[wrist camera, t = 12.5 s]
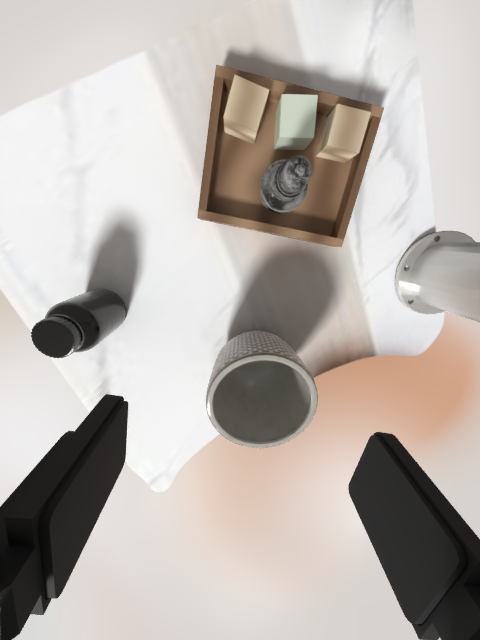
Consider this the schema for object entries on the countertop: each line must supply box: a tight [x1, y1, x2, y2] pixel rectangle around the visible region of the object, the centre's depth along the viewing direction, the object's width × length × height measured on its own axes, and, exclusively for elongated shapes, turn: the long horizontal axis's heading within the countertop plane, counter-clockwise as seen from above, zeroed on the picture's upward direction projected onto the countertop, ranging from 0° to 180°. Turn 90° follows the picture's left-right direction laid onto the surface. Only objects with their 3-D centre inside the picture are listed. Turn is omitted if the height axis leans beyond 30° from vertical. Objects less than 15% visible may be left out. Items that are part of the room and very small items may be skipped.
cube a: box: [316, 104, 371, 163], centre depth 30 cm, size 4×4×4 cm
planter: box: [206, 330, 318, 448], centre depth 36 cm, size 14×14×13 cm
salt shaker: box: [260, 155, 312, 213], centre depth 27 cm, size 6×6×12 cm
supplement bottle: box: [31, 289, 126, 358], centre depth 33 cm, size 7×7×12 cm
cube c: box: [224, 75, 269, 144], centre depth 29 cm, size 4×4×4 cm
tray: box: [197, 65, 384, 247], centre depth 32 cm, size 20×16×3 cm
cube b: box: [274, 94, 318, 150], centre depth 29 cm, size 4×4×4 cm
